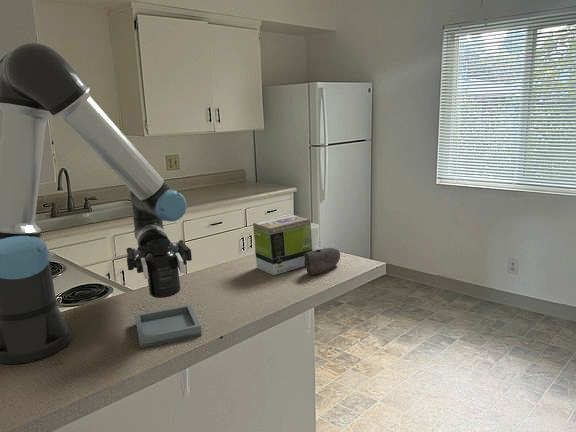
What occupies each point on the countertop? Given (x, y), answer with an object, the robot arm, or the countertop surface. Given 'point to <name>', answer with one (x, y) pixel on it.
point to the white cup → (315, 236)
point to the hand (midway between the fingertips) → (164, 269)
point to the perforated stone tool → (321, 260)
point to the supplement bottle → (162, 269)
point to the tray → (167, 326)
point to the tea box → (282, 243)
